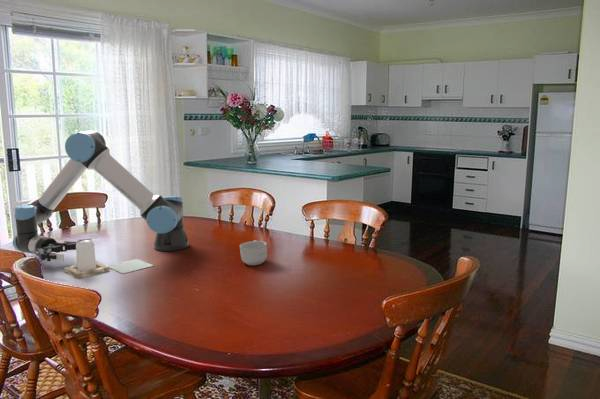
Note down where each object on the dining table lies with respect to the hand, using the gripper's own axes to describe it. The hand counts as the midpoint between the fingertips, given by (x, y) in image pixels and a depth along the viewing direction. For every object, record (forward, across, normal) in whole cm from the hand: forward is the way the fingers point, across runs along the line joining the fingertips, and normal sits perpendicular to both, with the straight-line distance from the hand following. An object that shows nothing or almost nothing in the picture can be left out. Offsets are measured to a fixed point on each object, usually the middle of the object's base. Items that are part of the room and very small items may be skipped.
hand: (79, 253), depth 191 cm
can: (+3, 0, -7) cm, 8 cm away
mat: (+14, -12, -7) cm, 19 cm away
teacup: (+54, -40, -7) cm, 67 cm away
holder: (+3, 0, -7) cm, 8 cm away
